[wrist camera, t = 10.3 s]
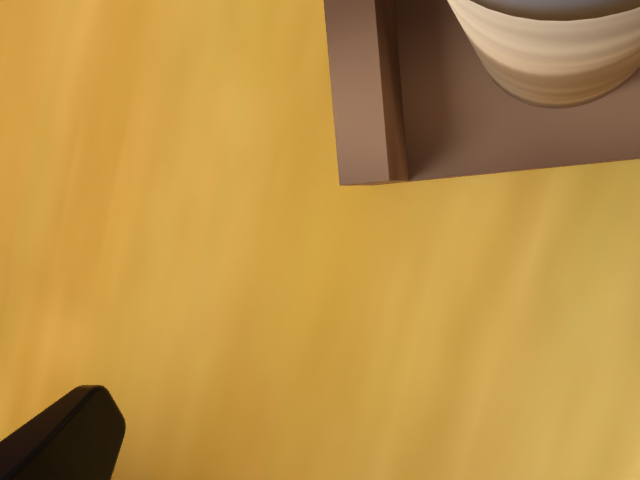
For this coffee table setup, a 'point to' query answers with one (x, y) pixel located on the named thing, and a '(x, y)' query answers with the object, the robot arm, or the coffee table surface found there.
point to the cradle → (449, 103)
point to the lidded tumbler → (554, 46)
